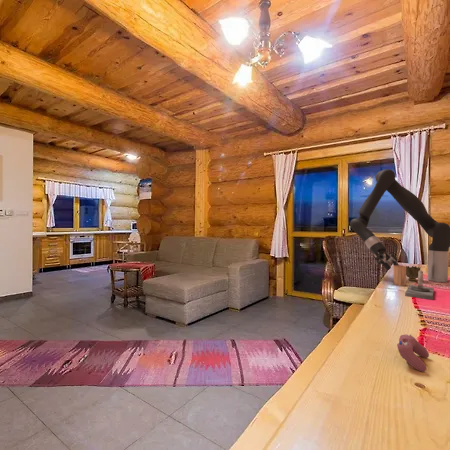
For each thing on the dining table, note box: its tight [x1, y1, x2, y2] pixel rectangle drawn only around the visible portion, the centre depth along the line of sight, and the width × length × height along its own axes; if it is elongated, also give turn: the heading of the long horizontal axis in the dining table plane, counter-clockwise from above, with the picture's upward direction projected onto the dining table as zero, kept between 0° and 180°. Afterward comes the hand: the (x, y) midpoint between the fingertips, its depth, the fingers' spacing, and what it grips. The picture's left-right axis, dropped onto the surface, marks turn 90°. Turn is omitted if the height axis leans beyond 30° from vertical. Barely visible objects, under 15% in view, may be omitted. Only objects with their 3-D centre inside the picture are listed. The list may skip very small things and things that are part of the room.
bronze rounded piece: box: [405, 265, 422, 282], centre depth 161 cm, size 8×7×8 cm
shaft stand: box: [404, 269, 435, 301], centre depth 133 cm, size 20×10×11 cm, turn 142°
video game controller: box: [396, 334, 430, 373], centre depth 69 cm, size 10×5×7 cm, turn 141°
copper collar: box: [392, 264, 407, 287], centre depth 151 cm, size 6×6×10 cm
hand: (394, 268), depth 153 cm, fingers open, 8 cm apart
